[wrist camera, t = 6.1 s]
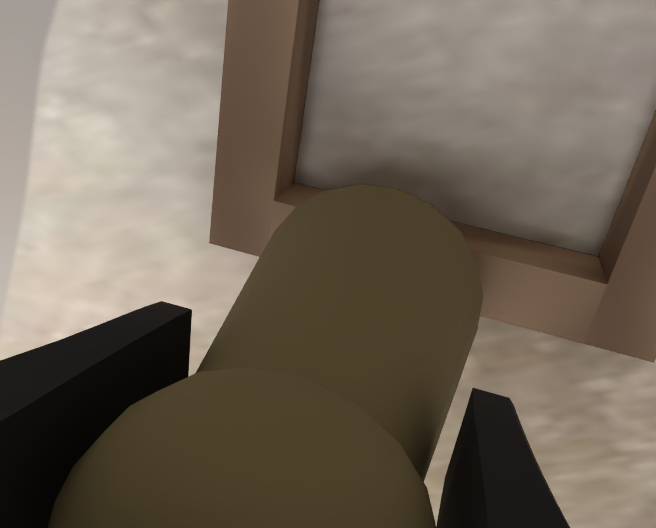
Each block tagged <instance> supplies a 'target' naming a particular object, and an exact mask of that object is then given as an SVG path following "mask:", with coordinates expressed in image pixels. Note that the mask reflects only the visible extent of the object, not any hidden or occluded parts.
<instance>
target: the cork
mask: <svg viewBox="0 0 656 528" xmlns="http://www.w3.org/2000/svg"><path fill="white" fill-rule="evenodd" d="M482 302H483V293H482V287H481V281H480V274H479V268H478V263H477V261H476V259H475V257H474V256H473V254H472V252H471V250H470V248H469V246H468V244H467V243H466V241H465V239H464V237H463V235H462V233H461V232H460V231H459V230H458V229H457V228H456V227H455V226H454V225H453V224H452V223H451V222H450V221H449V220H448V219H447V218H446V217H445V216H443V215H442V214H441V213H440V212H439V211H438V210H437V209H436V208H435V207H434V206H433V205H431V204H428V203H426V202H424V201H422V200H420V199H418V198H416V197H414V196H412V195H410V194H408V193H406V192H403V191H401V190H399V189H393V188H386V187H379V186H372V185H365V184H359V185H353V186H347V187H342V188H336V189H330V190H326V191H324V192H322V193H320V194H318V195H317V196H315V197H313V198H311V199H309V200H307V201H306V202H304V203H302V204H300V205H298V206H296V207H295V209H294V210H293V211H292V212H291V213H290V214H289V215H288V216H287V217H286V219H285V220H284V221H283V222H282V223H281V224H280V225H279V226H278V228H277V229H276V230H275V231H274V233H273V235H272V236H271V238H270V240H269V242H268V244H267V245H266V247H265V249H264V251H263V253H262V254H261V256H260V258H259V260H258V262H257V263H256V265H255V267H254V269H253V271H252V272H251V274H250V276H249V278H248V280H247V281H246V283H245V285H244V287H243V289H242V290H241V292H240V294H239V296H238V298H237V299H236V301H235V303H234V305H233V307H232V309H231V310H230V312H229V314H228V316H227V318H226V319H225V321H224V323H223V325H222V327H221V328H220V330H219V332H218V334H217V336H216V337H215V339H214V341H213V343H212V345H211V346H210V348H209V350H208V352H207V354H206V355H205V357H204V359H203V361H202V363H201V364H200V366H199V368H198V370H197V372H196V373H195V374H194V375H191V376H189V377H187V378H185V379H183V380H181V381H178V382H176V383H174V384H172V385H170V386H168V387H165V388H163V389H161V390H159V391H157V392H155V393H153V394H151V395H149V396H148V397H146V398H144V399H142V400H140V401H138V402H136V403H134V404H132V405H131V406H129V407H128V408H127V409H126V410H125V411H124V412H123V413H122V414H121V415H120V416H119V417H118V418H117V419H116V420H115V421H114V422H113V423H112V424H111V425H110V426H109V427H108V428H107V429H106V430H105V431H104V433H103V434H102V435H101V436H100V437H99V438H98V439H97V440H96V441H95V442H94V444H93V445H92V446H91V447H90V448H89V449H88V450H87V451H86V452H85V454H84V455H83V456H82V457H81V458H80V459H79V460H78V461H77V462H76V463H75V465H74V466H73V468H72V470H71V471H70V473H69V475H68V477H67V479H66V481H65V483H64V485H63V487H62V489H61V491H60V492H59V494H58V496H57V498H56V500H55V503H54V507H53V510H52V513H51V517H50V520H49V524H48V527H47V528H436V525H435V520H434V516H433V511H432V507H431V503H430V499H429V495H428V490H427V487H426V486H425V484H424V479H425V476H426V474H427V471H428V468H429V465H430V462H431V459H432V457H433V454H434V451H435V448H436V445H437V442H438V439H439V437H440V434H441V431H442V428H443V425H444V422H445V420H446V417H447V414H448V411H449V408H450V405H451V403H452V400H453V397H454V394H455V391H456V388H457V385H458V383H459V380H460V377H461V374H462V371H463V368H464V366H465V363H466V360H467V357H468V354H469V351H470V349H471V346H472V343H473V340H474V337H475V334H476V331H477V327H478V322H479V317H480V312H481V307H482Z"/></svg>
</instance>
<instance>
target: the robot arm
mask: <svg viewBox="0 0 656 528" xmlns="http://www.w3.org/2000/svg"><path fill="white" fill-rule="evenodd" d="M191 317H192V310H191V309H188V308H184V307H181V306H177V305H173V304H170V303H166V302H163V301H161V302H158V303H155V304H152V305H149V306H146V307H143V308H141V309H138V310H135V311H133V312H130V313H128V314H125V315H123V316H120V317H118V318H115V319H112V320H110V321H107V322H105V323H102V324H100V325H97V326H95V327H92V328H90V329H87V330H85V331H82V332H79V333H77V334H74V335H72V336H69V337H67V338H64V339H61V340H59V341H56V342H53V343H50V344H47V345H44V346H41V347H39V348H36V349H33V350H30V351H27V352H24V353H21V354H18V355H15V356H13V357H10V358H7V359H4V360H1V361H0V528H47V527H48V524H49V520H50V517H51V513H52V510H53V507H54V503H55V500H56V498H57V496H58V494H59V492H60V491H61V489H62V487H63V485H64V483H65V481H66V479H67V477H68V475H69V473H70V471H71V470H72V468H73V466H74V465H75V463H76V462H77V461H78V460H79V459H80V458H81V457H82V456H83V455H84V454H85V452H86V451H87V450H88V449H89V448H90V447H91V446H92V445H93V444H94V442H95V441H96V440H97V439H98V438H99V437H100V436H101V435H102V434H103V433H104V431H105V430H106V429H107V428H108V427H109V426H110V425H111V424H112V423H113V422H114V421H115V420H116V419H117V418H118V417H119V416H120V415H121V414H122V413H123V412H124V411H125V410H126V409H127V408H128V407H129V406H131V405H132V404H134V403H136V402H138V401H140V400H142V399H144V398H146V397H148V396H149V395H151V394H153V393H155V392H157V391H159V390H161V389H163V388H165V387H168V386H170V385H172V384H174V383H176V382H178V381H181V380H183V379H185V378H187V377H188V371H189V353H190V335H191ZM436 528H570V527H569V525H568V523H567V521H566V519H565V518H564V516H563V514H562V512H561V510H560V508H559V506H558V504H557V502H556V500H555V498H554V496H553V494H552V492H551V490H550V488H549V486H548V484H547V482H546V480H545V478H544V476H543V474H542V472H541V470H540V468H539V466H538V463H537V461H536V459H535V457H534V454H533V452H532V450H531V448H530V445H529V443H528V441H527V438H526V436H525V433H524V431H523V428H522V426H521V423H520V421H519V418H518V415H517V413H516V410H515V407H514V405H513V403H512V402H511V400H510V398H508V397H504V396H500V395H497V394H493V393H490V392H486V391H482V390H479V389H475V388H473V389H472V392H471V396H470V399H469V402H468V405H467V408H466V412H465V415H464V418H463V421H462V425H461V428H460V431H459V434H458V437H457V441H456V444H455V447H454V450H453V454H452V457H451V460H450V463H449V467H448V470H447V473H446V476H445V481H444V487H443V492H442V498H441V503H440V509H439V515H438V521H437V527H436Z"/></svg>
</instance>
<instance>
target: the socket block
mask: <svg viewBox="0 0 656 528" xmlns="http://www.w3.org/2000/svg"><path fill="white" fill-rule="evenodd" d="M318 5H319V0H228V13H227V26H226V38H225V51H224V64H223V76H222V89H221V102H220V115H219V127H218V140H217V153H216V165H215V178H214V191H213V203H212V216H211V229H210V242H209V243H211V244H215V245H218V246H222V247H226V248H230V249H233V250H237V251H241V252H244V253H248V254H252V255H256V256H259V257H260V256H261V254H262V253H263V251H264V249H265V247H266V245H267V244H268V242H269V240H270V238H271V236H272V235H273V233H274V231H275V230H276V229H277V228H278V226H279V225H280V224H281V223H282V222H283V221H284V220H285V219H286V217H287V216H288V215H289V214H290V213H291V212H292V211H293V210H294V209H295V207H296V206H298V205H300V204H302V203H304V202H306V201H307V200H309V199H311V198H313V197H315V196H317V195H318V194H320V193H322V192H324V191H326V190H322V189H318V188H314V187H310V186H305V185H301V184H297V183H294V177H295V170H296V163H297V156H298V149H299V141H300V134H301V127H302V120H303V113H304V106H305V98H306V91H307V84H308V77H309V70H310V62H311V55H312V48H313V41H314V34H315V26H316V19H317V12H318ZM450 222H451V223H452V224H453V225H454V226H455V227H456V228H457V229H458V230H459V231H460V232H461V233H462V235H463V237H464V239H465V241H466V243H467V244H468V246H469V248H470V250H471V252H472V254H473V256H474V257H475V259H476V261H477V263H478V268H479V274H480V281H481V287H482V293H483V302H482V307H481V312H480V316H483V317H487V318H490V319H494V320H498V321H502V322H505V323H509V324H513V325H516V326H520V327H524V328H528V329H531V330H535V331H539V332H543V333H546V334H550V335H554V336H557V337H561V338H565V339H569V340H572V341H576V342H580V343H584V344H587V345H591V346H595V347H598V348H602V349H606V350H610V351H613V352H617V353H621V354H625V355H628V356H632V357H636V358H639V359H643V360H647V361H651V362H654V361H655V359H656V112H655V115H654V117H653V120H652V122H651V125H650V127H649V130H648V133H647V135H646V138H645V140H644V143H643V145H642V148H641V150H640V153H639V156H638V158H637V161H636V163H635V166H634V168H633V171H632V173H631V176H630V179H629V181H628V184H627V186H626V189H625V191H624V194H623V196H622V199H621V202H620V204H619V207H618V209H617V212H616V214H615V217H614V219H613V222H612V224H611V227H610V230H609V232H608V235H607V237H606V240H605V242H604V245H603V247H602V250H601V253H600V255H599V257H596V256H592V255H588V254H584V253H580V252H576V251H571V250H567V249H563V248H559V247H555V246H551V245H547V244H543V243H539V242H535V241H531V240H526V239H522V238H518V237H514V236H510V235H506V234H502V233H498V232H494V231H490V230H486V229H481V228H477V227H473V226H469V225H465V224H461V223H457V222H453V221H450Z"/></svg>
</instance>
